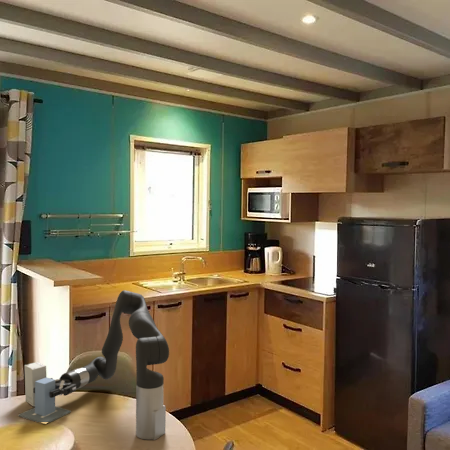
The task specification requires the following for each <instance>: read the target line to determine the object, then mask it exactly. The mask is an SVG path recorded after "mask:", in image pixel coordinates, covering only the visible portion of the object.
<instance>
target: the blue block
mask: <svg viewBox="0 0 450 450" xmlns="http://www.w3.org/2000/svg"><path fill="white" fill-rule="evenodd" d="M50 378H51V377H47V378H43V379H40V380H38V381H35V406H34V408H35V414H38V415H42V416H46V415H49V414H51V413H53V412H55V406H56V396H55V397H53V398H50V392H51V391H53V390H55V380H56V379H54V378H53V379H50Z"/></svg>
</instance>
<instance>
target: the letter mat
mask: <svg viewBox="0 0 450 450" xmlns="http://www.w3.org/2000/svg"><path fill="white" fill-rule="evenodd" d="M71 412H72V410H70V409H67V408H62V407H59V406H56V405H55V412H53V413H51V414H49V415H46V416H42V415H38V414H35V407H33V408H30V409H28V410H26V411H24V412H22V413H19V414H18V417H20V418H24V419H26V420H29V421H32V422H35V421H36V422H35V423H38V422H50V423H51V422H52V423H53V422H54V421H56V420H58V419H60V418H61V417H64V416H66V415H68V414H70V413H71Z"/></svg>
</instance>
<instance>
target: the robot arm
mask: <svg viewBox="0 0 450 450" xmlns="http://www.w3.org/2000/svg"><path fill="white" fill-rule="evenodd" d="M122 314H127V315H130V316H129V318H128V326H129V329H130V332H131V333H132V335H133V337H135V339H137V340H136V343H135V362H136V367H135V369H136V375H135V376H136V380H135V381H136V387H135V388H136V392H135V395H136V396H135V398H136V400H135V402H136V404H135V436H136V437H137V438H139V439H141V440H154V441H155V440H157V439H158V438H160V437H162V436H163V435H164V434H166V423H167V422H166V416H167V415H166V414H167V413H166V411H167V409H166V404H165V405H164V385H165V384H164V375H163V374H162V373H161V372H158V371H155V370H152V369H149V368H148V367H147V366H152V365H153V366H154V365H161V364H165V363H166V362H167V361H168V359H169V357H170V348H169V344H168V341H167V339H166V338H165V336H164V335H163V334H162V332H161V331H160V330H159V328H158V327H157V325H156V323H155V321H154V318H153V317H152V315H151V313H150V311H149V309H148V307H147V303H146V299H145V297H144V295H142V294H140V293H137V292H133V291H129V290H125V289H124V290H122V291H121V292H120V293H119V294H118V296H117V299H116V302H115V306H114V310H113V313H112V317H111V320H110V325H109V328H108V329H109V330H108V331H107V336H106V338H105V341H104V343H103V346H102V348H101V354H102V356H97V357H95V358H94V359H93V360H92V361H90V362H89V363H88V364H86V365H85V366H82V367H77V368H74V369H73V370H70V371H67V372H64V373H63V374H61V376H60V377H59V378H58V379H54V378H53V377H49V378H50V379H54V380H55V390H53V391H51V392H50V398H53V397H55V398H56V397H58V396H64V397H65V396H68V395H70V394H72V393H74V392H76V390H78V389H81V388H83V387H84V386H85V385H88V384H90V383H92V382H94V381H96V380H97V379H98V377H100V378H101V379H104V380H110V379H111V378H112V377H113V376H114V374H115V373H116V369H117V363H118V355H119V352H120V349H121V347H122V344H123V341H124V340H123V339H124V335H123V330H122V329H123V328H122V325H121V316H122ZM33 393H35V387H34V389H33Z"/></svg>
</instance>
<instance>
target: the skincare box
mask: <svg viewBox="0 0 450 450" xmlns="http://www.w3.org/2000/svg"><path fill="white" fill-rule="evenodd" d="M43 378H48V377H47V365H45V364H43V363H41V362H39V361H37V362H31V363H28V364H24V385H25V386H24V387H25V390H24V391H25V394H24V396H25V402H26V403H28V404H30V405H31V406H32V407H35V393H33V389H34V387H35V381H38V380H40V379H43Z"/></svg>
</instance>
